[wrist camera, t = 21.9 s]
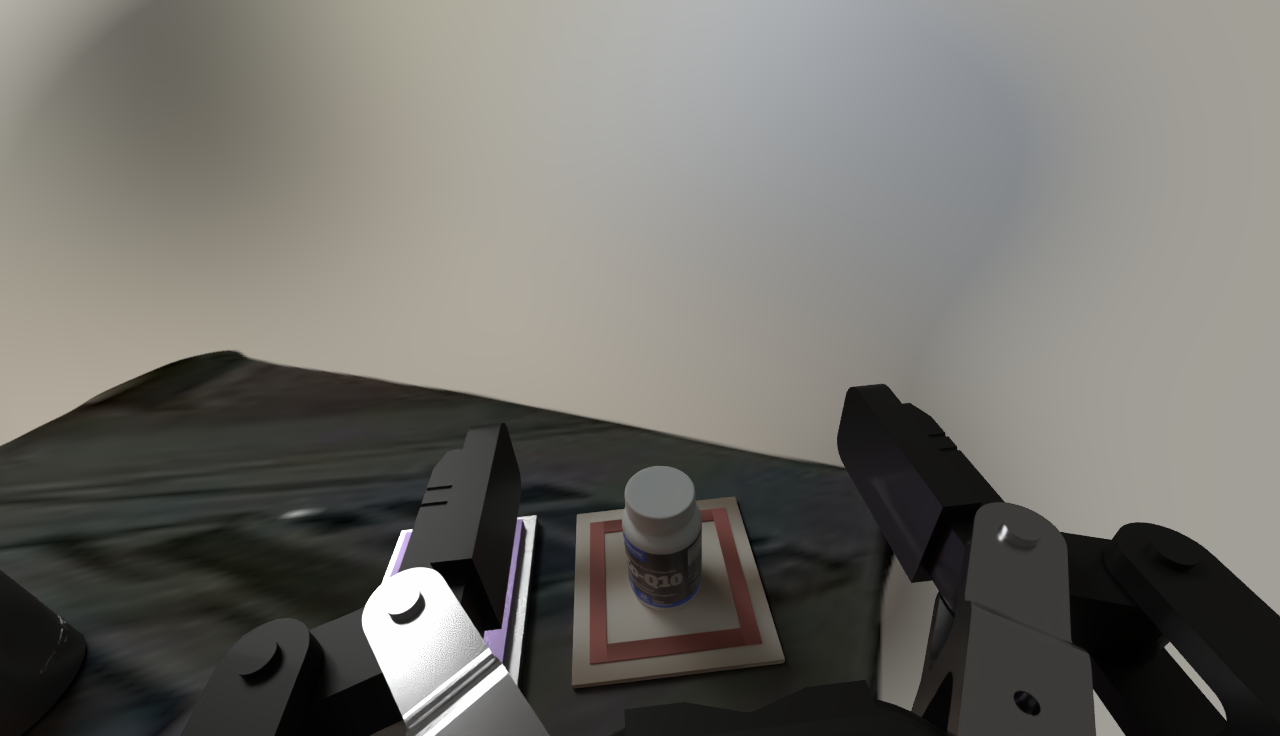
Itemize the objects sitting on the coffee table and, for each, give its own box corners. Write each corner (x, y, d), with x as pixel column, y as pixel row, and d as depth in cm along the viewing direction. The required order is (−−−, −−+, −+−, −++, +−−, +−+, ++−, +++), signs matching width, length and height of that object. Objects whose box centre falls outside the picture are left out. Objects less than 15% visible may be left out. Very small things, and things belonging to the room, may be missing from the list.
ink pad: (519, 694, 28) (514, 682, 28) (339, 717, 28) (328, 704, 27) (538, 522, 38) (534, 509, 38) (405, 537, 38) (398, 524, 37)
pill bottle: (618, 599, 32) (602, 510, 28) (645, 540, 36) (636, 452, 31) (689, 624, 31) (686, 534, 26) (711, 559, 34) (711, 470, 29)
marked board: (784, 662, 29) (785, 658, 28) (572, 688, 28) (571, 684, 28) (734, 500, 39) (734, 495, 38) (577, 518, 38) (576, 513, 38)
